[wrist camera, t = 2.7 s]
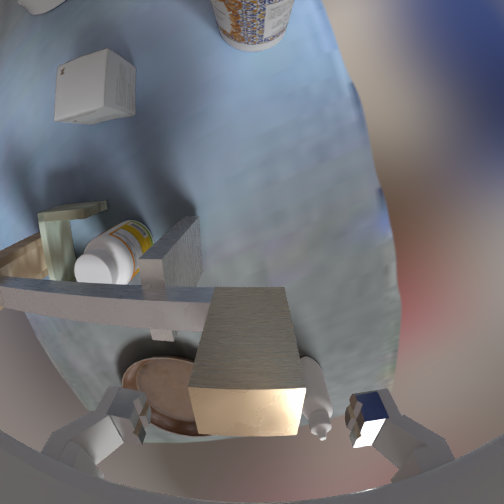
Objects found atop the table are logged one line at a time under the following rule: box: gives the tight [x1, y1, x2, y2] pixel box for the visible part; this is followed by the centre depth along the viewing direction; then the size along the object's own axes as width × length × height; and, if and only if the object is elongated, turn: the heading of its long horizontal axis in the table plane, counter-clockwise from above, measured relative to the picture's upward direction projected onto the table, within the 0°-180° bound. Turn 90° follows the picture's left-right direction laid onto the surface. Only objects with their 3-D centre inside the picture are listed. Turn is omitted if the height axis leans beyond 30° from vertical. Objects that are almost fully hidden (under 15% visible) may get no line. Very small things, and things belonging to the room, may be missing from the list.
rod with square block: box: [0, 216, 306, 436], centre depth 19 cm, size 6×26×21 cm, turn 90°
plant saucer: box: [122, 356, 212, 437], centre depth 36 cm, size 18×18×3 cm
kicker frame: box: [0, 200, 107, 311], centre depth 22 cm, size 10×10×17 cm
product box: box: [54, 48, 136, 125], centre depth 21 cm, size 6×6×7 cm
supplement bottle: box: [74, 220, 154, 285], centre depth 25 cm, size 5×5×10 cm
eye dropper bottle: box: [300, 356, 333, 440], centre depth 30 cm, size 4×6×12 cm
